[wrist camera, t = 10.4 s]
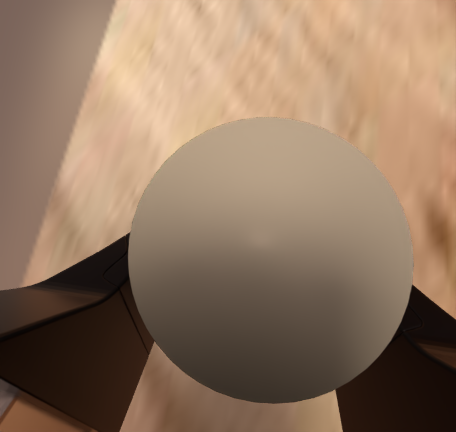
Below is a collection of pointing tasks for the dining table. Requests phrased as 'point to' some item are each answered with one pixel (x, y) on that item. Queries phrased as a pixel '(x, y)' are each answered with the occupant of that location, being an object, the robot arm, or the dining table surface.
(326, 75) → the dining table surface
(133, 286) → the canister
